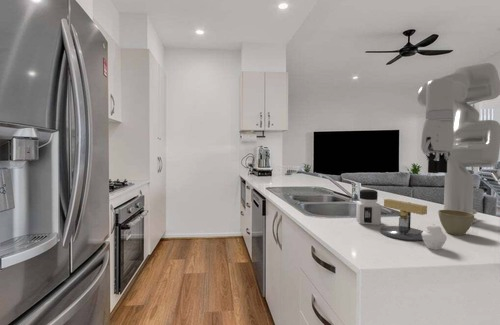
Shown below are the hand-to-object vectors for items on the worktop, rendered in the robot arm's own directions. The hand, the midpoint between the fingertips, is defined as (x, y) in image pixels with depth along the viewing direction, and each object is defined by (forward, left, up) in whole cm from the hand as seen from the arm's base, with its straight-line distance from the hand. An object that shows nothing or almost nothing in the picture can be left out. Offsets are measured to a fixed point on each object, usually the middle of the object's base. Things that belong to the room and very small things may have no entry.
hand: (437, 172), depth 92 cm
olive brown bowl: (-9, +1, -21) cm, 23 cm away
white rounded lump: (+13, +8, -21) cm, 26 cm away
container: (+7, -22, -21) cm, 32 cm away
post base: (+9, -5, -21) cm, 24 cm away
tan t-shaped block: (+9, -5, -15) cm, 19 cm away
